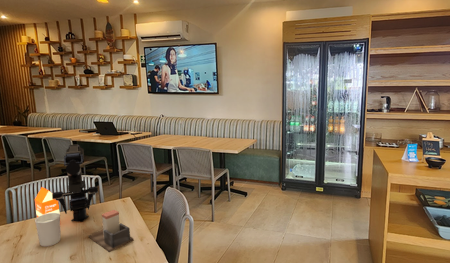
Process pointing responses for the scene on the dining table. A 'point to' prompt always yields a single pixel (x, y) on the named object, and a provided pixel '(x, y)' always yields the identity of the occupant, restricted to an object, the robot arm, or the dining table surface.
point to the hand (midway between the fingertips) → (77, 211)
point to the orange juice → (45, 203)
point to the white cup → (48, 229)
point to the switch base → (112, 238)
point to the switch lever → (111, 221)
